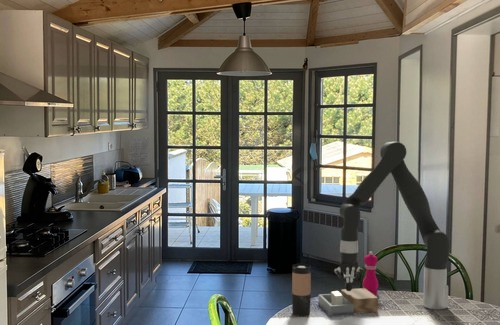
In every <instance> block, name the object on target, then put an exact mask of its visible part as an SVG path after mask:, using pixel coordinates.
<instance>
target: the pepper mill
mask: <svg viewBox="0 0 500 325" xmlns="http://www.w3.org/2000/svg"><path fill="white" fill-rule="evenodd" d="M363 261H364V264H365V267H364V268H365V269H366V270H365V271H366V272H365V277H364V278H363V280H362V288H365V289H367V290H368V291H369V292H371V293H372V294H373V295H375V296H378V290H377V289H379V281H378V279H377V276H376V269H377V264H378V257H377V256H376V255H375V254H374V252H373V251H369V252H368V254H367V255H365V257H364V259H363Z"/></svg>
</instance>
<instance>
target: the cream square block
mask: <svg viewBox="0 0 500 325" xmlns="http://www.w3.org/2000/svg"><path fill="white" fill-rule="evenodd" d="M330 294H331V303H332V304H333V305H343V298H342V294H341V291H339V290H334V291H333V290H332V291H331V292H330Z"/></svg>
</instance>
